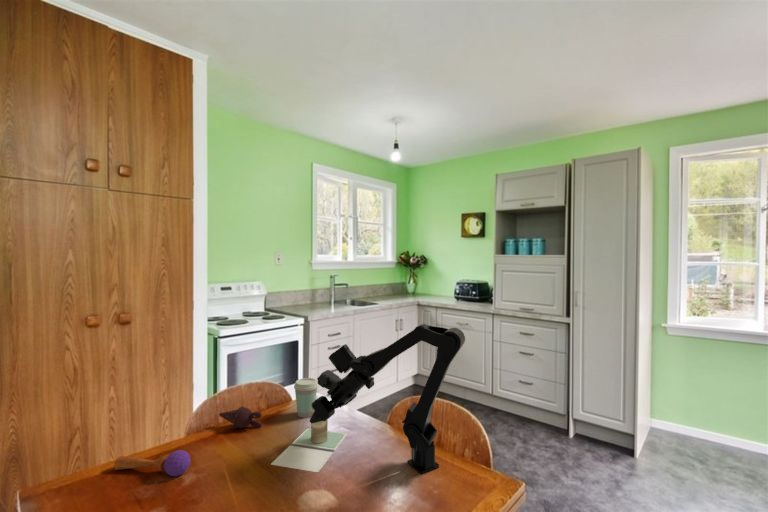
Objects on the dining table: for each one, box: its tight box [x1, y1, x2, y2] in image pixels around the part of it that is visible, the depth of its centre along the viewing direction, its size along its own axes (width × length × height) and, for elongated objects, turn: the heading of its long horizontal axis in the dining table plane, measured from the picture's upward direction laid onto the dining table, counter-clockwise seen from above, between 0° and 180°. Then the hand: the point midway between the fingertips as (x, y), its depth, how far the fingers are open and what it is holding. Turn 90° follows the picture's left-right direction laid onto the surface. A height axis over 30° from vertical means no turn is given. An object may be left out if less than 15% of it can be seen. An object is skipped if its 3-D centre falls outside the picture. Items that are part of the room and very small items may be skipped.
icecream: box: [218, 405, 263, 430], centre depth 123 cm, size 7×7×15 cm
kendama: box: [113, 449, 192, 477], centre depth 97 cm, size 6×6×20 cm
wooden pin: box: [310, 407, 329, 444], centre depth 114 cm, size 5×5×12 cm
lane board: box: [270, 428, 348, 473], centre depth 109 cm, size 22×14×1 cm, turn 165°
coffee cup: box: [293, 377, 319, 419], centre depth 133 cm, size 8×8×12 cm
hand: (318, 415), depth 114 cm, fingers open, 9 cm apart
